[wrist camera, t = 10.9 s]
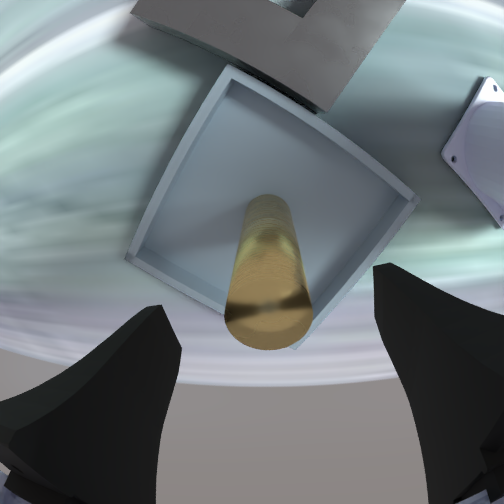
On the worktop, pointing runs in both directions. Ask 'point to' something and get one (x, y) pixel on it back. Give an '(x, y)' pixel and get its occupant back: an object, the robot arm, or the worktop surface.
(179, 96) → the worktop surface
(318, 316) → the tray
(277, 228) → the cylinder
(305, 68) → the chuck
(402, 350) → the robot arm
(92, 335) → the worktop surface
